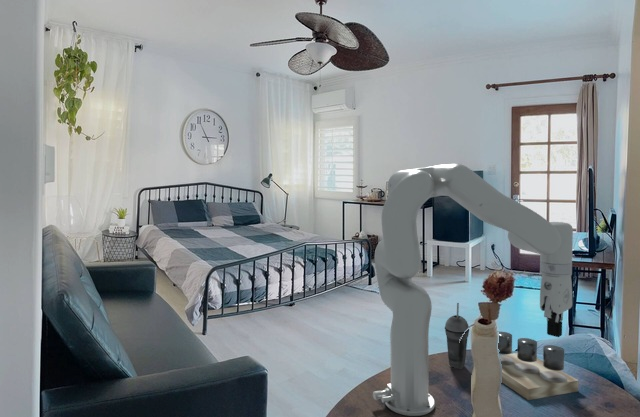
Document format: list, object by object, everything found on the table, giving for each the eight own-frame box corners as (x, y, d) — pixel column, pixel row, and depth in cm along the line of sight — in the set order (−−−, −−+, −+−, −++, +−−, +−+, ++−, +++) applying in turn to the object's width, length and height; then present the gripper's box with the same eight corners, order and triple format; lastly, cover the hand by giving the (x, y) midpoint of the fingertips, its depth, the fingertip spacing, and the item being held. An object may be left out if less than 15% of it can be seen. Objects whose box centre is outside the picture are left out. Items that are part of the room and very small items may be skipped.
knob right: (552, 371, 115) (553, 353, 115) (538, 363, 120) (539, 346, 120) (568, 369, 116) (568, 351, 116) (553, 361, 121) (554, 344, 121)
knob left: (501, 355, 126) (501, 338, 126) (490, 348, 131) (490, 332, 131) (515, 353, 127) (515, 336, 127) (504, 346, 132) (504, 330, 132)
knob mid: (525, 363, 121) (526, 345, 120) (513, 356, 125) (513, 339, 125) (540, 360, 122) (541, 343, 122) (528, 353, 127) (528, 337, 126)
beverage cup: (466, 360, 137) (466, 298, 135) (471, 371, 130) (472, 305, 128) (442, 360, 138) (442, 298, 136) (446, 370, 130) (447, 305, 129)
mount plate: (528, 400, 112) (528, 388, 112) (480, 367, 132) (480, 357, 131) (578, 391, 117) (578, 379, 116) (525, 360, 136) (525, 351, 136)
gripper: (559, 275, 108) (557, 346, 110) (581, 266, 118) (580, 332, 119) (528, 270, 114) (527, 338, 116) (552, 262, 124) (551, 325, 125)
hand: (554, 335), depth 118 cm, fingers closed
